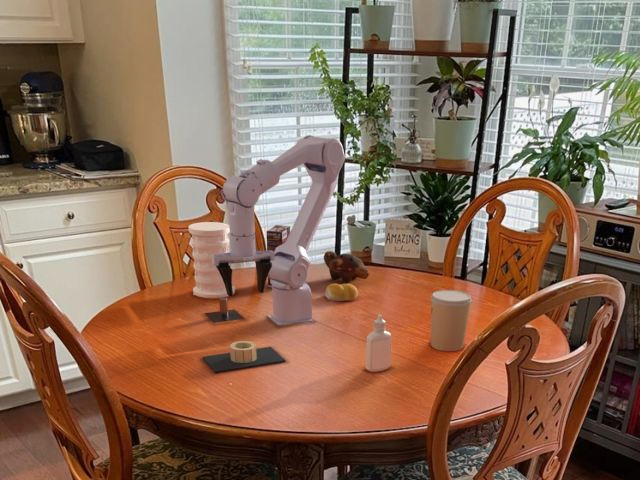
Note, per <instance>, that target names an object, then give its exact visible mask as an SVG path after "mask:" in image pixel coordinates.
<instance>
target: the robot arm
mask: <svg viewBox="0 0 640 480" xmlns="http://www.w3.org/2000/svg"><path fill="white" fill-rule="evenodd" d="M345 160H346V156H345V151H344V147H343V144H342V142H341V141H340V140H339V139H337V138H326V137H320V136H314V135H310V134H308V135H305V136H303V138H299V139H298V140H297V141H296V144H294V145H293V146H291V147H290V148H289V149H287V150H286V151H284V152H283V153H282V154H280V155H279V156H278V157H276V158H275V159H273V160H272V161H271V160H269V159H262V158H259V159H258V160H256V164H255V165H253V166H252V167H250V168H248V169H243V170H241V172H240V174H239V175H230V176H229V177H227V179H226V180H225V181H224V183H223V184H222V185H223V186H222V189H220V192H221V196H222V198H223V200H224V201H225V204H226V209H227V213H228V215H227V216H228V225H229V246H230V248H229V250H230V252H229V253H224V254H219V255H212V264H213V265H214V266H216V267H217V269H218V271H219V273H220V275H221V277H222V279H223V282H224V284H225V288H226V292H227V295H228V296H227V297H233V295H234V294H233V291H232V286H233V282H232V281H233V268H232V267H231V268H230V265H229V264H231V265H232V264H241V263H242V264H243V263H252V262H253V263H255V269H256V285H257V287H256V288H257V292H258V293H260V294H264V291H265V286H266V282H267V280H268V278H269V279H270V284H272V288H271V295H272V296H271V297H272V298H271V299H272V314H268V315H267V318H269V319H270V320H271V321H273V323H275V324H276V325H277V326H286V325H294V324H301V323H308V322H313V321H314V319H313V298H312V297H313V296H312V291H311V287H310V286H309V284H307V283H306V281H307V280H308V273H309V268H310V266H311V260H310V257H309V256H308V253H307V252H308V250H309V247H310V245H311V243H312V241H313V239H314V236H315V234H316V232H317V230H318V228H319V225H320V223H321V221H322V219H323V217H324V214H325V212H326V209H327V208H328V205H329V203H330V201H331V199H332V198H333V197H332V196H333V194H334V193H335V190H336V188H337V184H338V178H339V174H340V171H341V169H342V167H343V165H344V163H345ZM301 165H303V166H304V168H305V170H306V172H307V175H308V176H309V177H310V179H311V185H310V188H309V189H308V192H307V194H306V196H305V198H304V201H303V203H302V205H301V207H300V209H299V211H298V213H297V216H296V219H295V221H294V223H293V225H292V227H291V228H290V234H289V236H288V238H287V241H286V242H285V243H284V244H282V245H280V246H278V247H277V248H276V249H275V251H274V252H273V251H272V250H269V251H267V250H257V248H256V225H255V223H256V222H255V205H256V204H257V202H258V201H259V198H260V196H261V195H263V194H264V193H266V192H268V191H269V190H271V189H272V188H274V187H275V186H277V185H278V184H279V183H280V180H281V176H282V175H285V174H286V173H289V172H290V171H292V170H294V169H296V168H297V167H300V166H301Z"/></svg>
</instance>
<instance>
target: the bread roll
mask: <svg viewBox="0 0 640 480" xmlns="http://www.w3.org/2000/svg"><path fill="white" fill-rule="evenodd" d="M358 295H359V291H358V289H357V287H356V286H355V285H353V284H351V283H341V284H339V283H330V284H328V286H326V289H325V293H324V296H325V297H326V299H327V300H329V301H333V302H345V301H348V302H351V301H355V299H356V298H357V297H358Z"/></svg>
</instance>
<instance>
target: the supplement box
mask: <svg viewBox="0 0 640 480" xmlns="http://www.w3.org/2000/svg"><path fill="white" fill-rule="evenodd" d="M290 232H291V226H290V225H282V224H281V225H280V224H276V225H274V226H273V227H271V228H269V229H268V230H266V251H269V250H272V251H273V252H274V251H275V249H276V248H277V247H278V246H280V245H282V244H284V243H285V242H286V241H287V238H288V236H289V234H290ZM267 287H268V288H271V289H272V284H270V279H269V278H268V277H267Z"/></svg>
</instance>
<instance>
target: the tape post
mask: <svg viewBox="0 0 640 480" xmlns="http://www.w3.org/2000/svg"><path fill="white" fill-rule="evenodd" d="M218 304H219V310H218V311H211V312H210V311H209V312H204V315H205V316H206V317H207V318H208V319H209V320H210V321H211V322H212V323H213V324H216V323H223V322H232V321H239V320H244V319H245V317H244V316H243V315H242V314H240V313H239V312H237V311H236V310H235V309H229V306H228V298H227V297H221V298H218Z"/></svg>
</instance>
